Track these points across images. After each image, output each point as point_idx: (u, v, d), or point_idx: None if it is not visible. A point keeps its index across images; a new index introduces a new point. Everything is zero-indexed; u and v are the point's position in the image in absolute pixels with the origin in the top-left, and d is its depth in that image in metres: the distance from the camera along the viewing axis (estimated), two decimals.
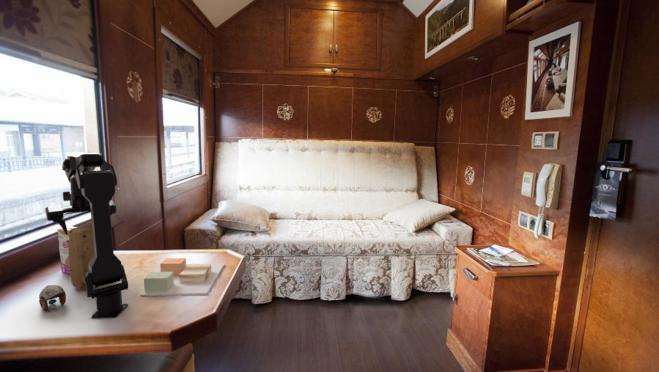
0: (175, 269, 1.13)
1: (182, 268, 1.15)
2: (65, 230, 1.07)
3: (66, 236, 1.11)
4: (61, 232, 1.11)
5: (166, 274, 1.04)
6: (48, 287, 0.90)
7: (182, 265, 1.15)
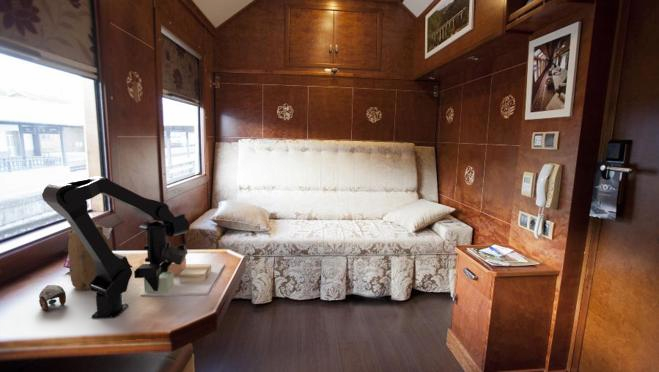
0: (175, 269, 1.13)
1: (182, 268, 1.15)
2: None
3: None
4: None
5: (166, 274, 1.04)
6: (48, 287, 0.90)
7: (182, 265, 1.15)
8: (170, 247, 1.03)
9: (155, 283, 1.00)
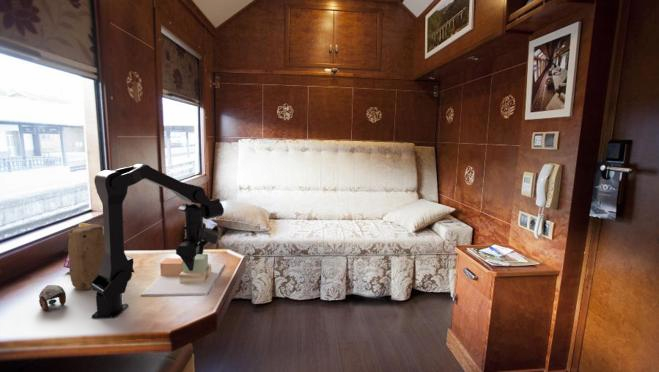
0: (175, 269, 1.13)
1: (182, 268, 1.15)
2: None
3: None
4: (82, 225, 1.18)
5: (202, 256, 1.13)
6: (48, 287, 0.90)
7: (182, 265, 1.15)
8: (206, 228, 1.11)
9: (191, 263, 1.06)
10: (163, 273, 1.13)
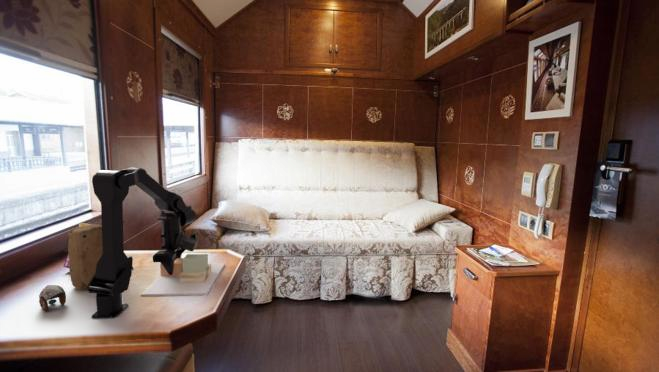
0: (175, 269, 1.13)
1: (182, 268, 1.15)
2: None
3: None
4: (82, 225, 1.18)
5: (202, 256, 1.13)
6: (48, 287, 0.90)
7: (182, 265, 1.15)
8: (183, 236, 1.15)
9: (170, 268, 1.12)
10: (163, 273, 1.13)
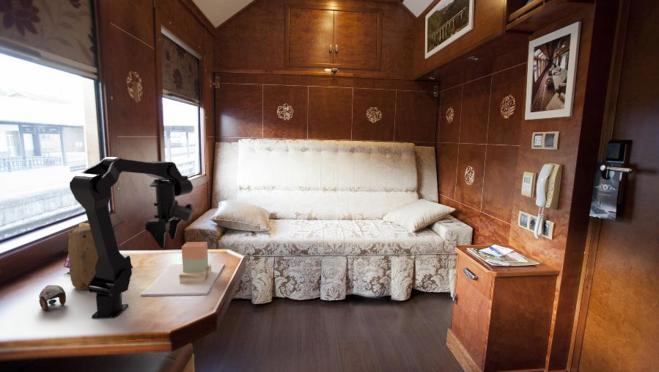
0: (197, 252, 1.09)
1: (204, 252, 1.10)
2: None
3: None
4: (82, 225, 1.18)
5: None
6: (48, 287, 0.90)
7: (204, 249, 1.10)
8: (178, 205, 1.09)
9: (161, 240, 1.04)
10: (185, 257, 1.09)
